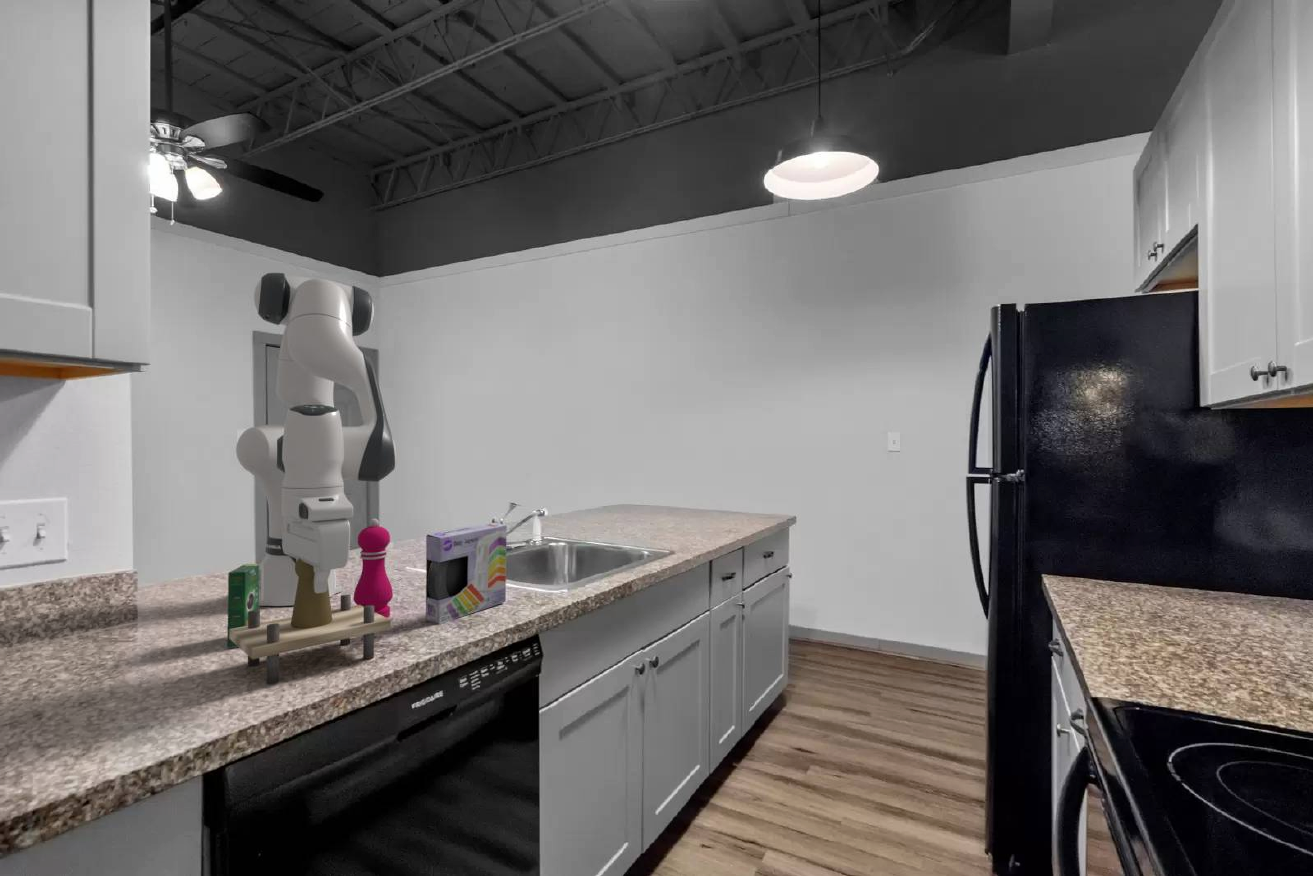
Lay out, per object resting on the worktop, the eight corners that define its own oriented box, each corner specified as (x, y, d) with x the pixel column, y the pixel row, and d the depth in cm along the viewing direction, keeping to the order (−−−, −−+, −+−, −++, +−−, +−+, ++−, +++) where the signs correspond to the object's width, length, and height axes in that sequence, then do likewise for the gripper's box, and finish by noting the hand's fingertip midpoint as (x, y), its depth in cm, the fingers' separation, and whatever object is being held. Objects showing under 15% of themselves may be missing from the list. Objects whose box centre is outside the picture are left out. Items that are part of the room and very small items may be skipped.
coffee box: (241, 634, 114) (242, 563, 114) (259, 632, 115) (260, 562, 115) (225, 648, 106) (226, 572, 106) (244, 647, 107) (245, 571, 107)
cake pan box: (435, 626, 120) (436, 535, 120) (419, 622, 123) (420, 533, 123) (508, 604, 136) (509, 523, 136) (491, 600, 139) (492, 522, 139)
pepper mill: (377, 623, 121) (378, 521, 121) (345, 621, 123) (346, 520, 122) (399, 613, 128) (400, 517, 128) (369, 611, 130) (369, 515, 129)
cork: (303, 614, 105) (304, 550, 104) (339, 616, 105) (341, 552, 104) (282, 627, 99) (284, 559, 98) (321, 629, 99) (323, 561, 98)
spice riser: (229, 666, 98) (229, 613, 98) (359, 637, 113) (359, 591, 113) (252, 690, 89) (252, 631, 89) (390, 655, 104) (390, 605, 104)
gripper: (272, 500, 106) (271, 581, 106) (314, 511, 92) (313, 604, 92) (312, 498, 110) (311, 575, 110) (358, 507, 96) (357, 596, 96)
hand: (312, 588), depth 101 cm, fingers open, 5 cm apart
